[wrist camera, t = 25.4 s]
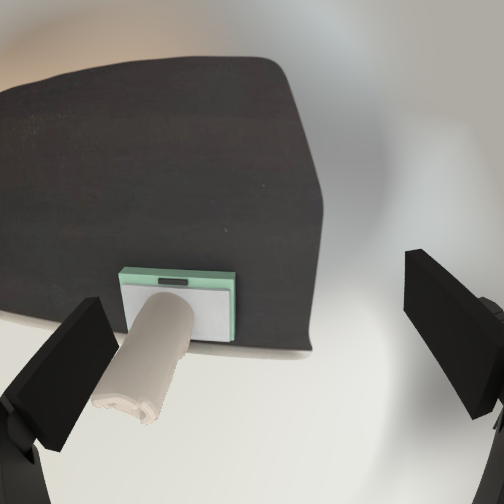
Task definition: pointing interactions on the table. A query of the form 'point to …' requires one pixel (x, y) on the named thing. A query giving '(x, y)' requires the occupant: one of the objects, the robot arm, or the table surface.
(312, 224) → the table surface
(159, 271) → the scale
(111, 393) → the candle
